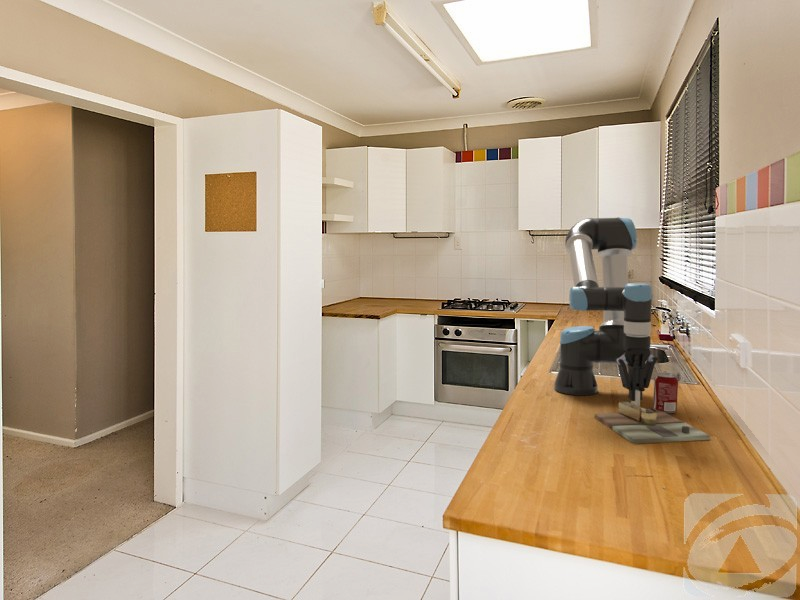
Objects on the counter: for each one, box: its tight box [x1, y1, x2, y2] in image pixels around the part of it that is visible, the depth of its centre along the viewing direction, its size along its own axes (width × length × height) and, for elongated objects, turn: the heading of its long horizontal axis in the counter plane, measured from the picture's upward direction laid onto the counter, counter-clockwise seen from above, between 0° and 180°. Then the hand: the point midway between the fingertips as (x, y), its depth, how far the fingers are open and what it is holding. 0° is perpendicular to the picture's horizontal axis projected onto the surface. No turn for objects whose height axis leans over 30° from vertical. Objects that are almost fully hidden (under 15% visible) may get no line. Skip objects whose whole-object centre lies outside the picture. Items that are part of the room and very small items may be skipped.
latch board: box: [594, 410, 711, 444], centre depth 154 cm, size 22×22×3 cm
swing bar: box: [618, 401, 657, 425], centre depth 158 cm, size 13×4×4 cm, turn 17°
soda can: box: [652, 372, 679, 415], centre depth 169 cm, size 7×7×12 cm
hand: (635, 410), depth 163 cm, fingers closed
